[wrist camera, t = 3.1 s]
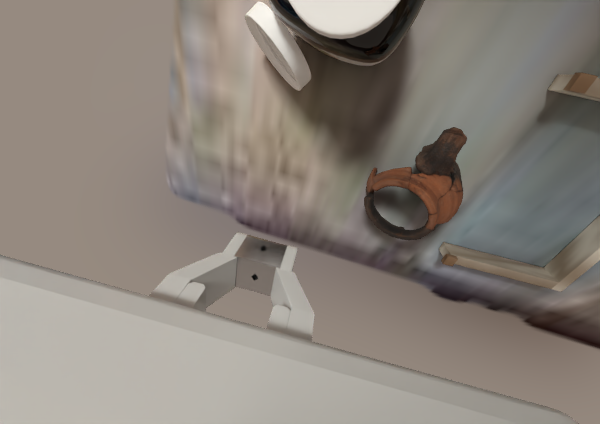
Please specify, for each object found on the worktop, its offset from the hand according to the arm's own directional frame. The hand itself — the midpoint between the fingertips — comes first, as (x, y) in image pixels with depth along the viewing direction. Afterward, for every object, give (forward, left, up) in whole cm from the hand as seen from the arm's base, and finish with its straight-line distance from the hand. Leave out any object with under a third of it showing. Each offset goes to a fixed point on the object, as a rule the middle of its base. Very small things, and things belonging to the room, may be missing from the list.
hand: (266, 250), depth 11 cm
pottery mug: (0, +12, -19) cm, 22 cm away
